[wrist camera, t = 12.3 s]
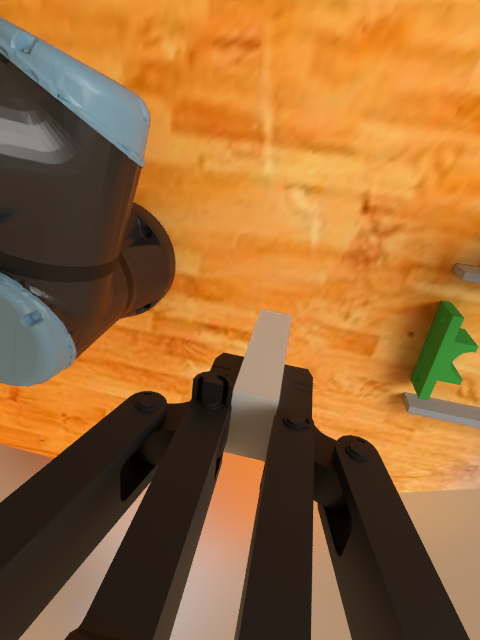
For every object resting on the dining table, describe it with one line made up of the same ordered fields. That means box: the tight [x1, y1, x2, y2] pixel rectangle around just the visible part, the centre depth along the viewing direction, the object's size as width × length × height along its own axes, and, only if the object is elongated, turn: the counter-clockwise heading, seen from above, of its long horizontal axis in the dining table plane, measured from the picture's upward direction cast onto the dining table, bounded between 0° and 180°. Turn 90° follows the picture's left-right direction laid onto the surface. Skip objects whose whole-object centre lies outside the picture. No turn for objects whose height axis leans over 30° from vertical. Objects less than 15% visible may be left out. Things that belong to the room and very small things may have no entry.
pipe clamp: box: [411, 301, 478, 400], centre depth 45 cm, size 11×4×5 cm, turn 172°
